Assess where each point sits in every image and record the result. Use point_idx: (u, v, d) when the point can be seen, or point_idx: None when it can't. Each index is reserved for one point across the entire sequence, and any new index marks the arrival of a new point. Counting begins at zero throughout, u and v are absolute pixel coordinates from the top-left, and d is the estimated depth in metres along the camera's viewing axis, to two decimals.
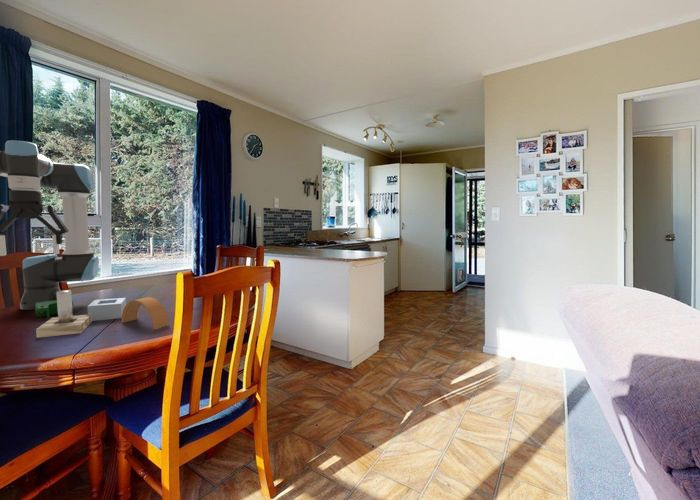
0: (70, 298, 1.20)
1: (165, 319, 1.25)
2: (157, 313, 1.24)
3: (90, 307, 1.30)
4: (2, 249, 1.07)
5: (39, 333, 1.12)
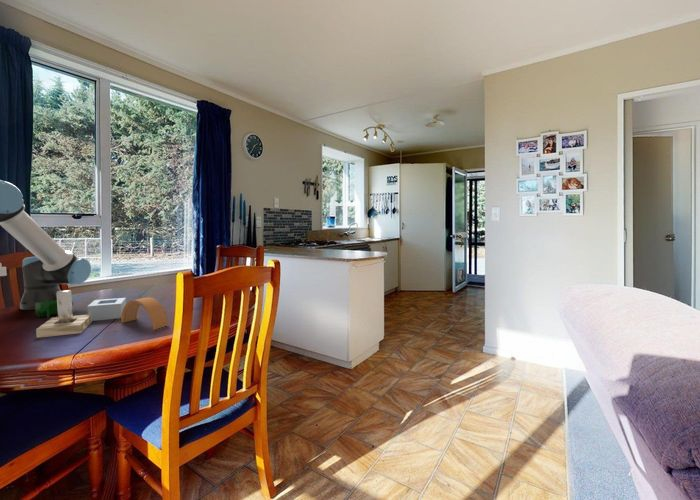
0: (70, 298, 1.20)
1: (164, 319, 1.25)
2: (156, 313, 1.23)
3: (90, 307, 1.30)
4: None
5: (39, 333, 1.12)
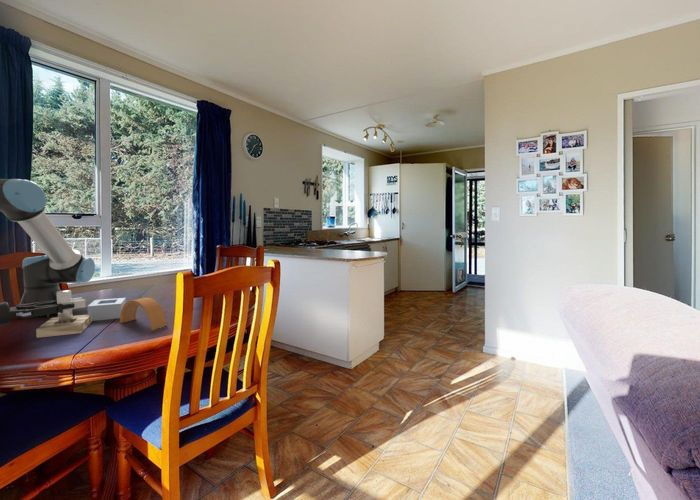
0: (70, 298, 1.20)
1: (163, 319, 1.25)
2: (155, 313, 1.23)
3: (90, 307, 1.30)
4: None
5: (39, 333, 1.12)
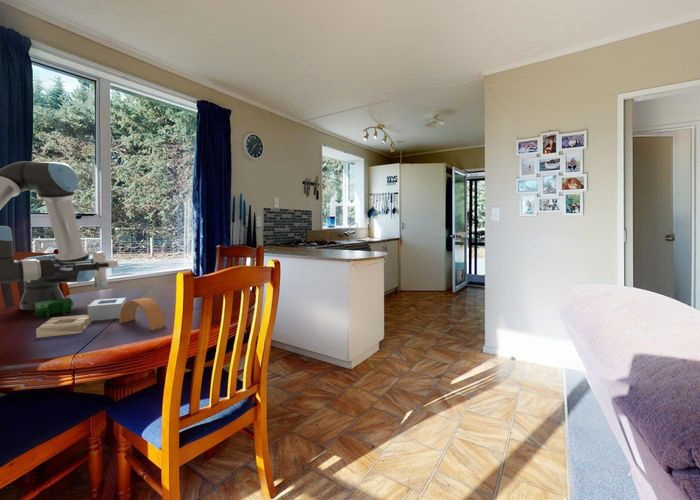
0: (105, 258, 1.33)
1: (162, 320, 1.24)
2: (154, 314, 1.23)
3: (90, 307, 1.30)
4: None
5: (39, 333, 1.12)
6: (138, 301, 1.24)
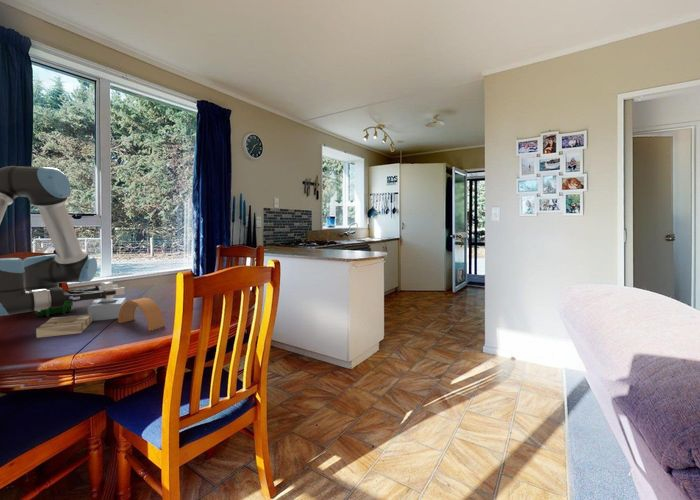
0: (112, 288, 1.37)
1: (160, 320, 1.24)
2: (152, 314, 1.22)
3: (90, 307, 1.30)
4: None
5: (39, 333, 1.12)
6: (137, 301, 1.24)
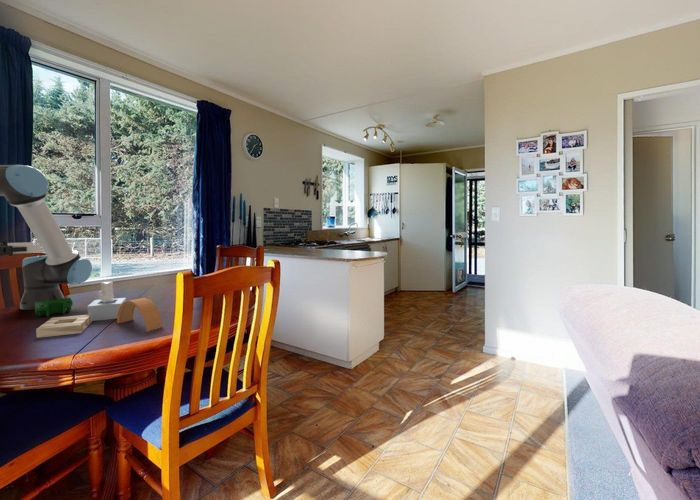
0: (112, 289, 1.37)
1: (158, 320, 1.23)
2: (150, 314, 1.22)
3: (90, 307, 1.30)
4: None
5: (39, 333, 1.12)
6: (135, 301, 1.23)
